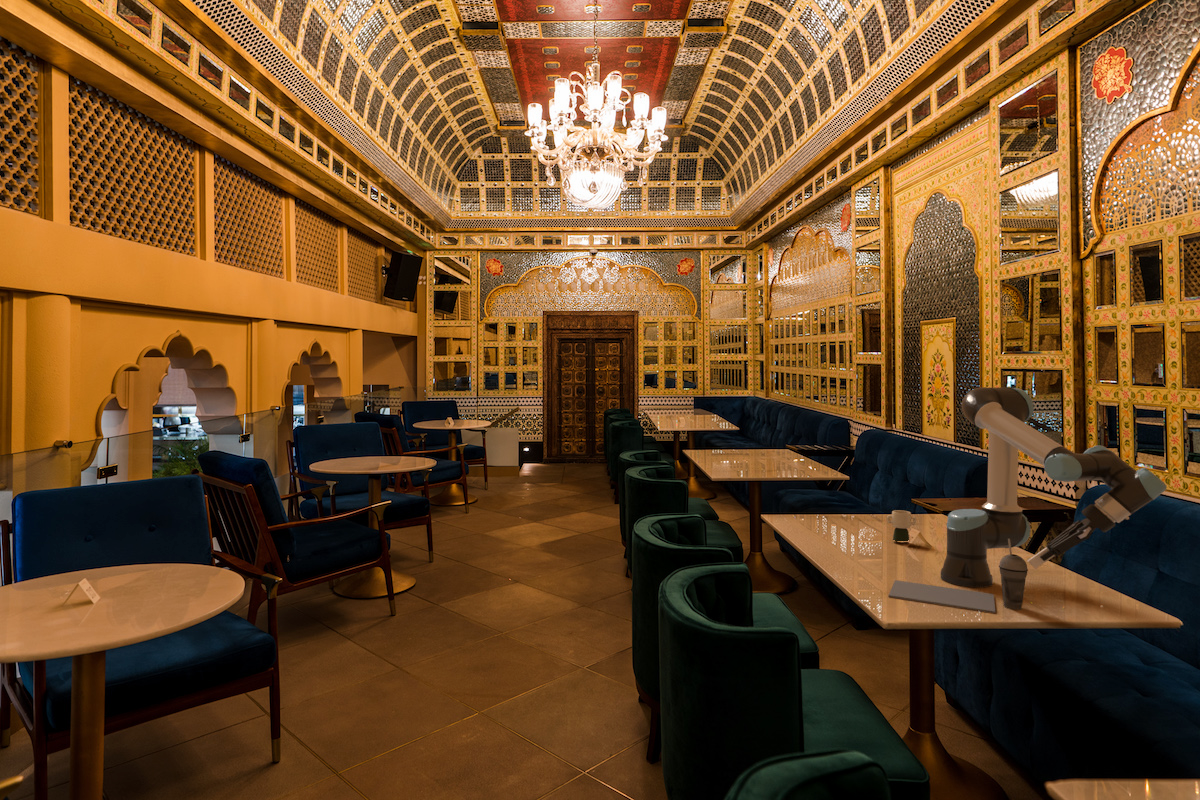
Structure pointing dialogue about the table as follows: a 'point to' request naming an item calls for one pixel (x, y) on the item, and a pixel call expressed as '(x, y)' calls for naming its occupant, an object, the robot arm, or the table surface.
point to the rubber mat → (943, 596)
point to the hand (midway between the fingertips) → (1031, 564)
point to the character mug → (901, 524)
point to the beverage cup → (1013, 579)
